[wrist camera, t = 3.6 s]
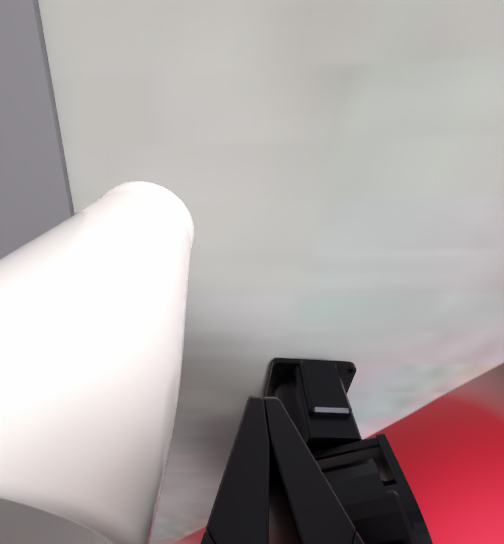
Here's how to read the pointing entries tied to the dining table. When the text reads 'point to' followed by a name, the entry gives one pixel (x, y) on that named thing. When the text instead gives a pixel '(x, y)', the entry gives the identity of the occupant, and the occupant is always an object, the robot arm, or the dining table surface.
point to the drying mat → (28, 132)
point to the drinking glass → (92, 369)
